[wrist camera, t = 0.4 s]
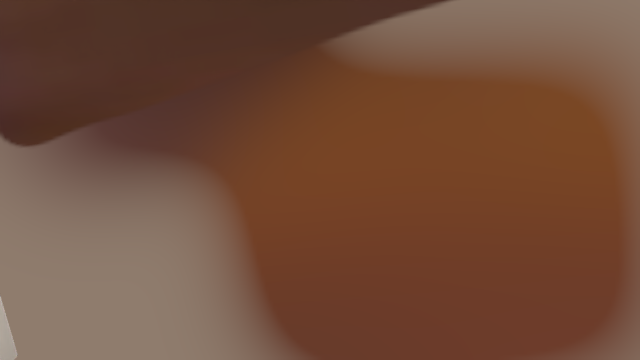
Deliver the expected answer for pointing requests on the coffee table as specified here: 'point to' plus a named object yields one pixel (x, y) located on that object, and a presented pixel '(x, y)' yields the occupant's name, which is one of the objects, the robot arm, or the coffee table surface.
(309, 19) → the coffee table surface
